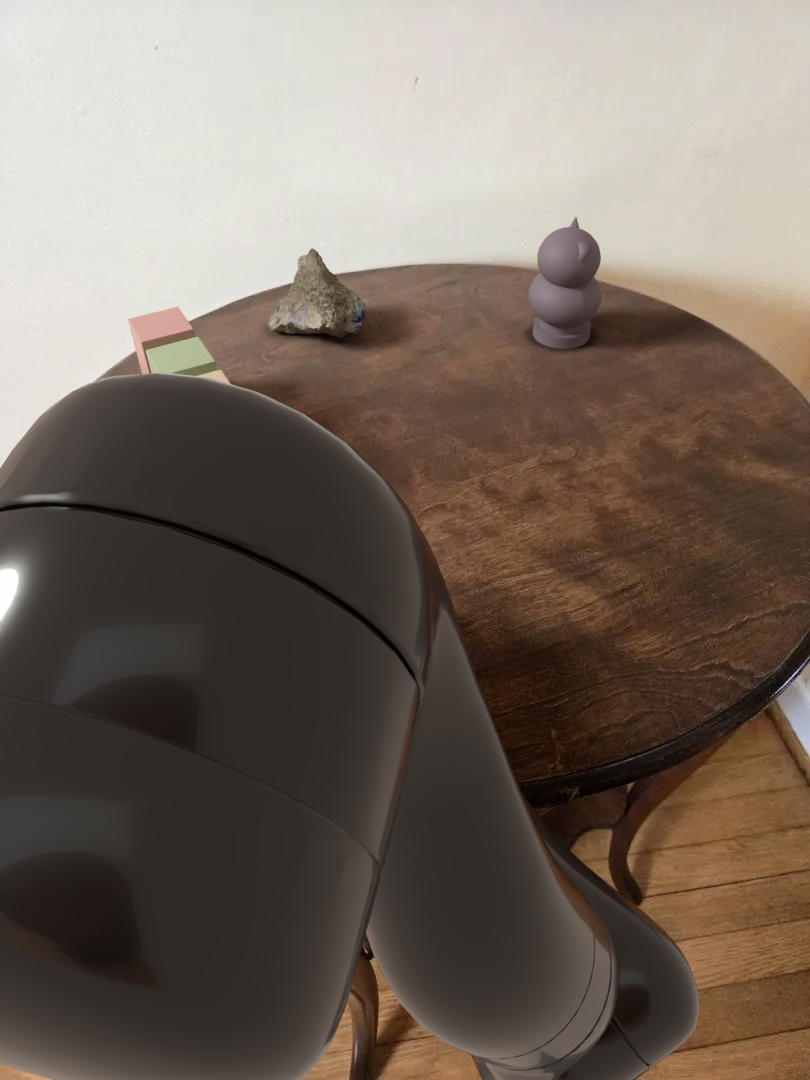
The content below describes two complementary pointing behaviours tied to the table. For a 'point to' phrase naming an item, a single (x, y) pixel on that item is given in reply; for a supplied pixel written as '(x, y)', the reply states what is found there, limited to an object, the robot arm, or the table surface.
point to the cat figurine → (565, 288)
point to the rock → (317, 302)
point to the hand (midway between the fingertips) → (297, 556)
